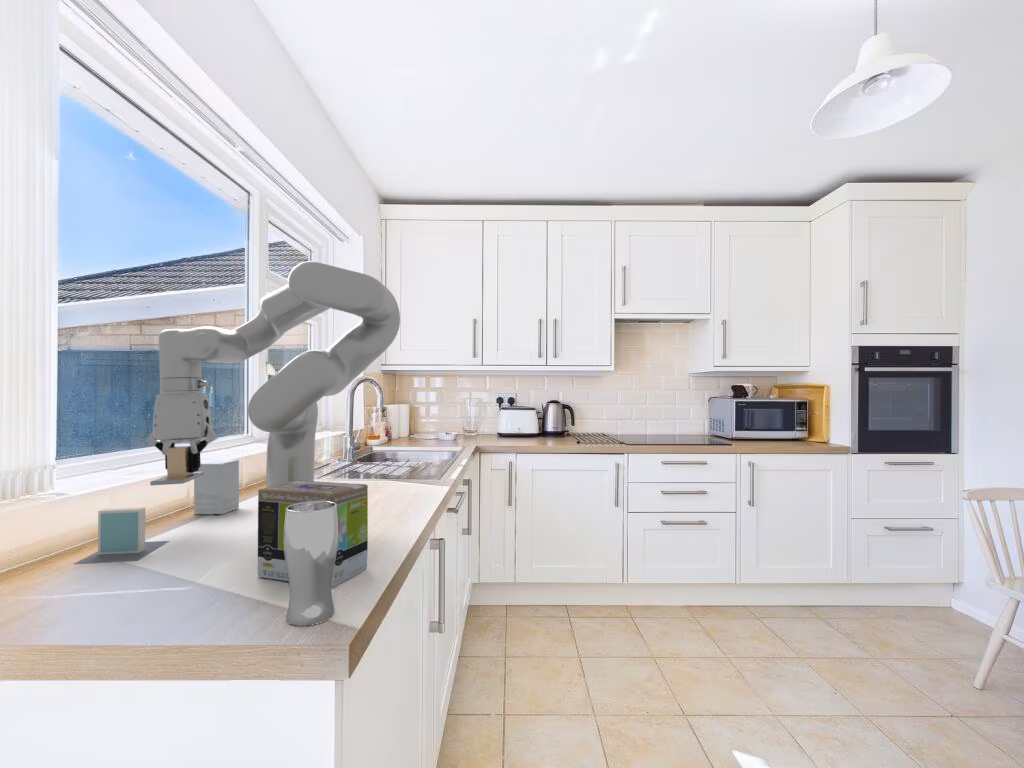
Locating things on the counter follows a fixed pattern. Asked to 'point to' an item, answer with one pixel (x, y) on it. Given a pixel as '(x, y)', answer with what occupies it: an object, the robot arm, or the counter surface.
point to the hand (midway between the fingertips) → (183, 471)
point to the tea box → (349, 525)
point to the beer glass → (310, 560)
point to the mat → (122, 555)
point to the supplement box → (217, 487)
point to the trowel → (177, 467)
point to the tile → (121, 530)
